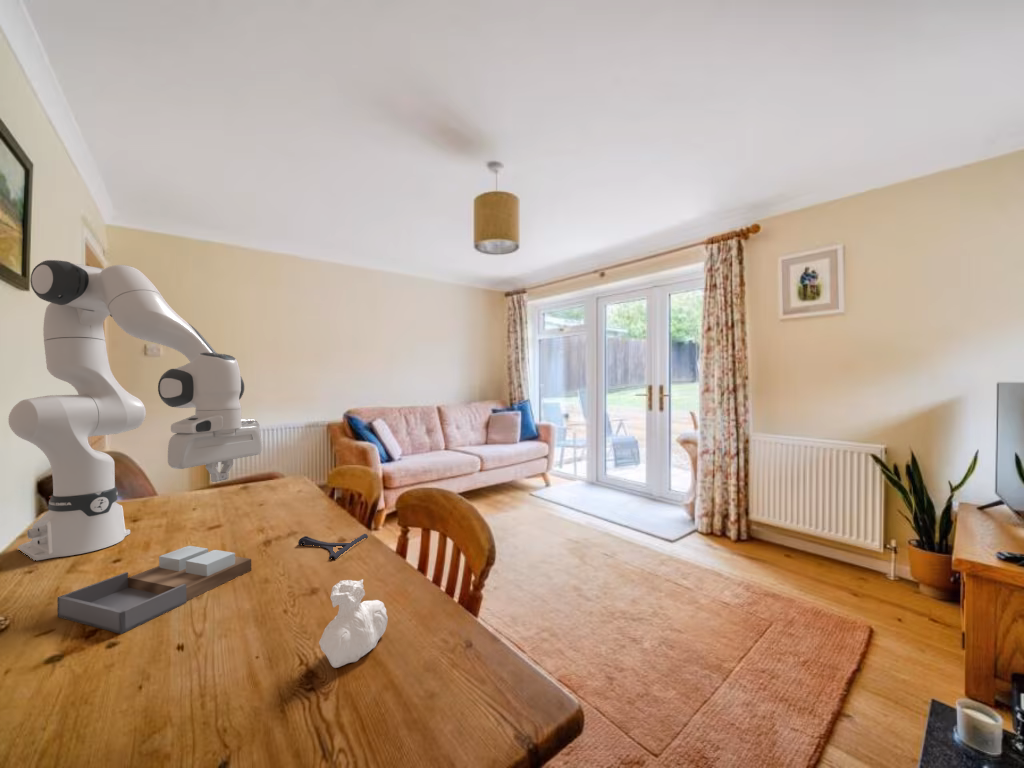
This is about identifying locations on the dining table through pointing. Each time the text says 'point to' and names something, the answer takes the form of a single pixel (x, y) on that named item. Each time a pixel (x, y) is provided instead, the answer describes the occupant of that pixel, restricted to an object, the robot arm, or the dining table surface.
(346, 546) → the bracket
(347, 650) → the bust
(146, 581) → the board
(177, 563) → the tile
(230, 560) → the tile
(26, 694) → the dining table surface
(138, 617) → the tray
